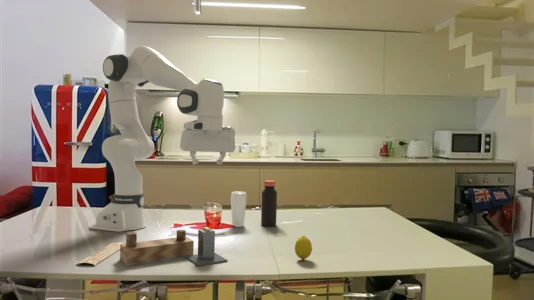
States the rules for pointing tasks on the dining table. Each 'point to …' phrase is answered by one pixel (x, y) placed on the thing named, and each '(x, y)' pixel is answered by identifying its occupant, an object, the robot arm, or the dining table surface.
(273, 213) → the bottle
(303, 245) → the lemon
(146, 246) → the plane body
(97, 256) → the newspaper
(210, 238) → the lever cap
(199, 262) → the pad
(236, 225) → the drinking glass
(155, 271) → the dining table surface
